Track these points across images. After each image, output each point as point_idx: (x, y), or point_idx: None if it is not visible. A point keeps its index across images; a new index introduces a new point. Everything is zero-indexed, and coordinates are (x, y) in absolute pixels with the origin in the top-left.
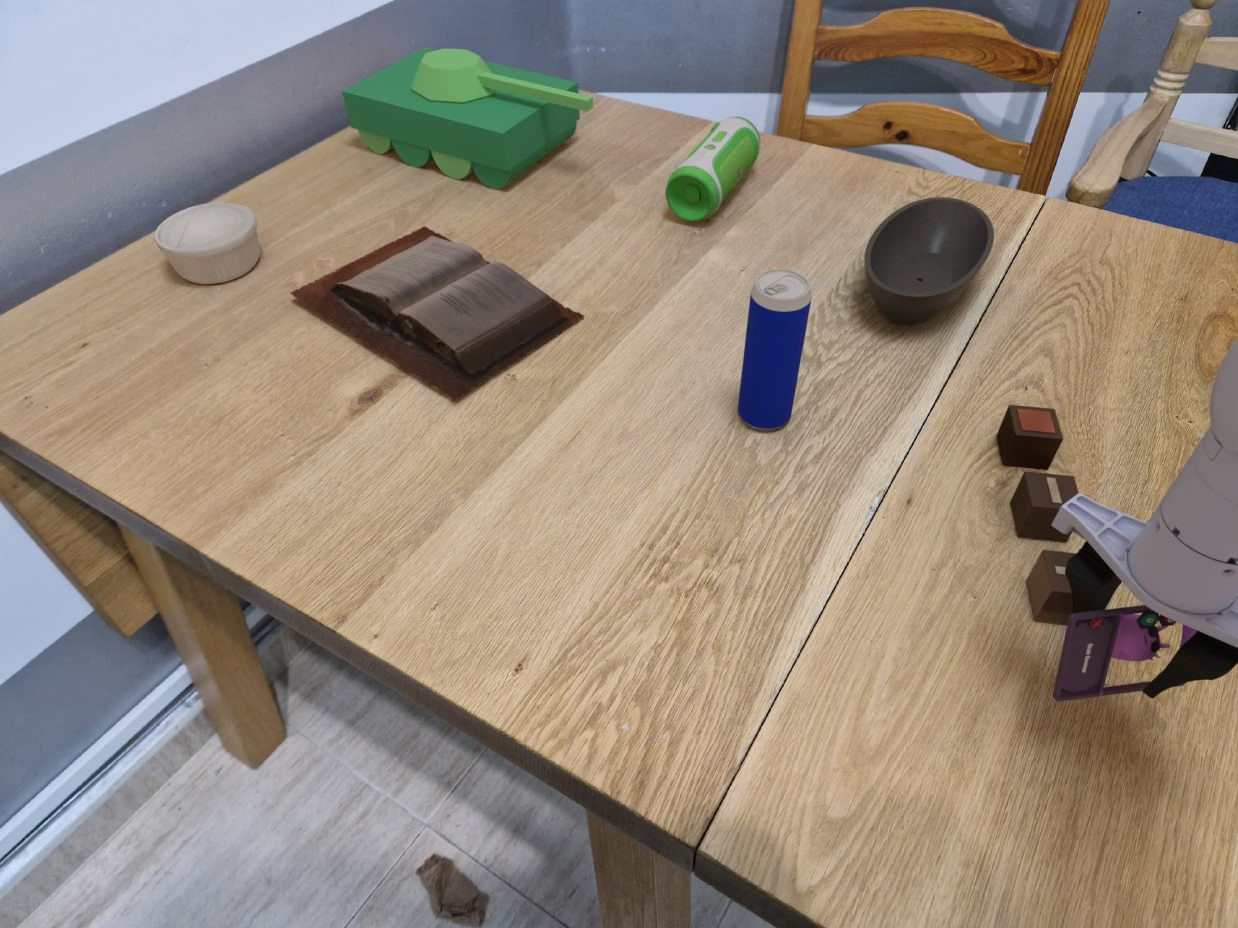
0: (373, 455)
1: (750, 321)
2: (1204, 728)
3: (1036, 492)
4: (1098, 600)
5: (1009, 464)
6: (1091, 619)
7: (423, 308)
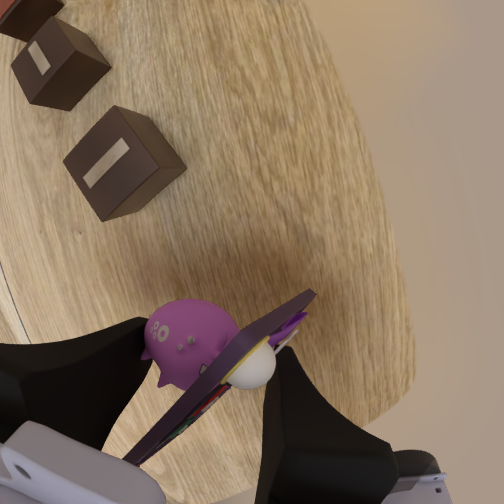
0: None
1: None
2: (361, 211)
3: (26, 80)
4: (100, 428)
5: (31, 37)
6: None
7: None
